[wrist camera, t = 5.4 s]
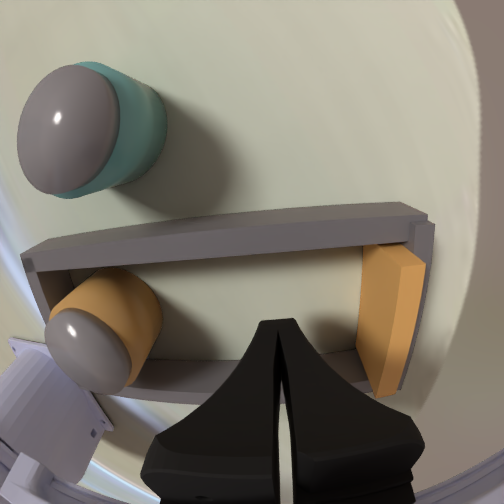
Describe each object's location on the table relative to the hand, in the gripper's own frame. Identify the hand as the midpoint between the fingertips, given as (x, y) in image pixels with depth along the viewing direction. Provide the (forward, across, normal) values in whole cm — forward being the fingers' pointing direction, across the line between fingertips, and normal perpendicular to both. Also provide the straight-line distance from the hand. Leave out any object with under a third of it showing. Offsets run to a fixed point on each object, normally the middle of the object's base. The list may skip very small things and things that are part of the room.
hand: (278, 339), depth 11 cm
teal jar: (+3, +6, -9) cm, 11 cm away
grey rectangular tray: (+3, +3, 0) cm, 4 cm away
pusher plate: (+3, -5, 0) cm, 5 cm away
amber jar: (+3, +8, 0) cm, 9 cm away
